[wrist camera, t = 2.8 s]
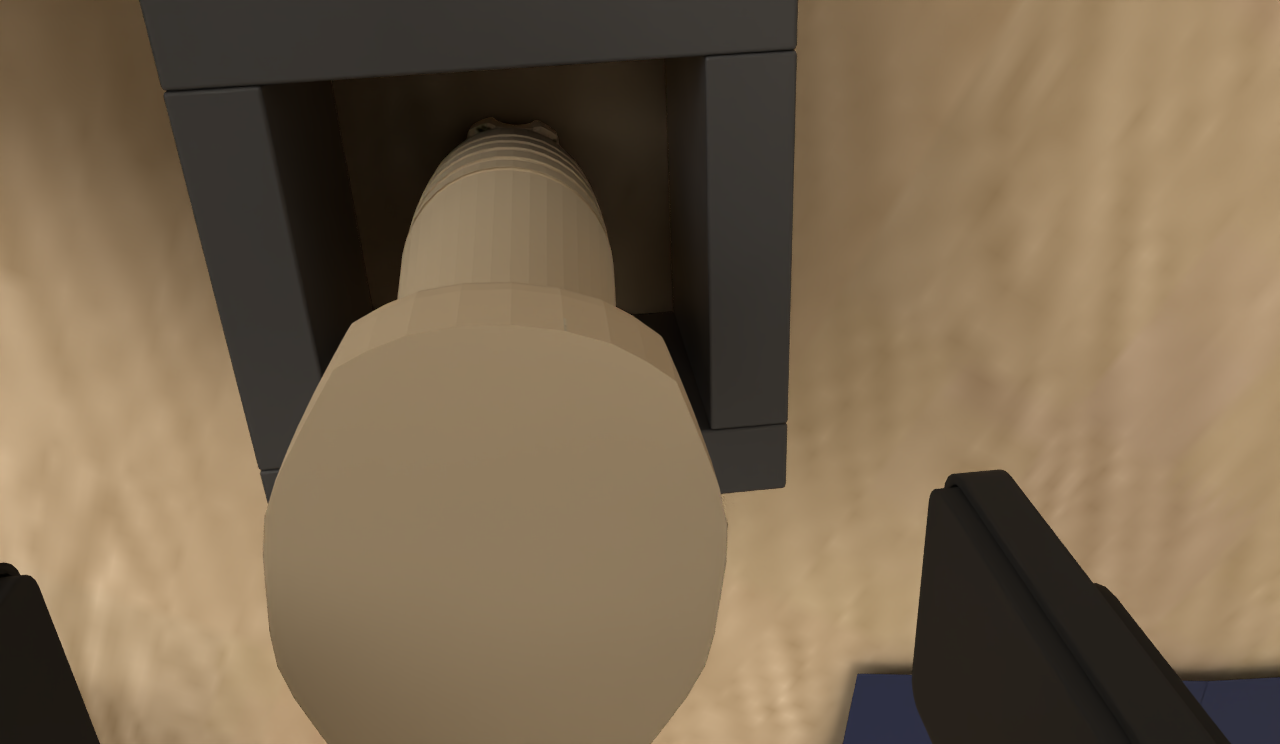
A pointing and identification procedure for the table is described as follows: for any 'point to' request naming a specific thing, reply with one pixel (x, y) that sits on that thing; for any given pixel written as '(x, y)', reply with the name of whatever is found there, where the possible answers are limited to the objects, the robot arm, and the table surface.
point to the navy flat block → (1242, 709)
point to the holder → (473, 41)
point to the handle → (497, 486)
